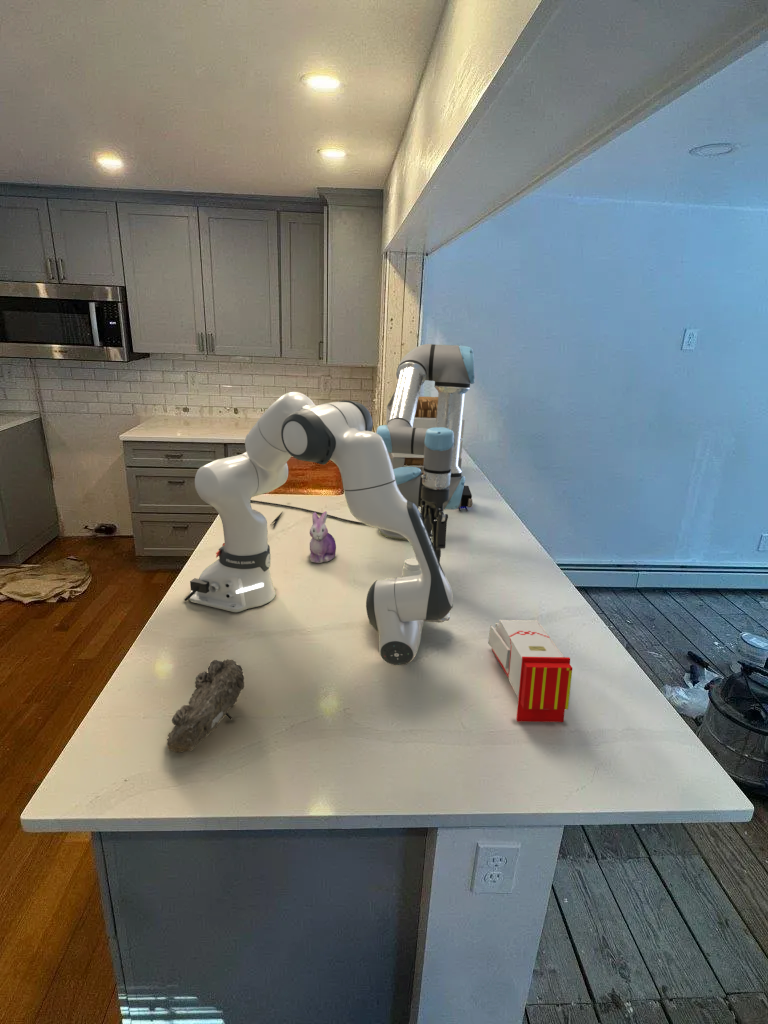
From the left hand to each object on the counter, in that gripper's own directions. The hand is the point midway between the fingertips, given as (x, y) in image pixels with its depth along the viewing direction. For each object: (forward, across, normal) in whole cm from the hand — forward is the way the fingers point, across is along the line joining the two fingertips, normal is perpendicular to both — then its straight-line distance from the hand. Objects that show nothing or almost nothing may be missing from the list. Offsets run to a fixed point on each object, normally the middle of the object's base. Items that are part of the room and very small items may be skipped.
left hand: (411, 589), depth 146 cm
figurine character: (+89, -11, +7) cm, 90 cm away
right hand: (+16, -3, 0) cm, 17 cm away
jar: (-1, 0, +7) cm, 7 cm away
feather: (+60, +55, +7) cm, 82 cm away
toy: (-23, -27, +7) cm, 36 cm away
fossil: (-48, +33, +7) cm, 58 cm away
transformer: (+134, +10, +7) cm, 135 cm away
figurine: (+28, +31, +7) cm, 42 cm away
